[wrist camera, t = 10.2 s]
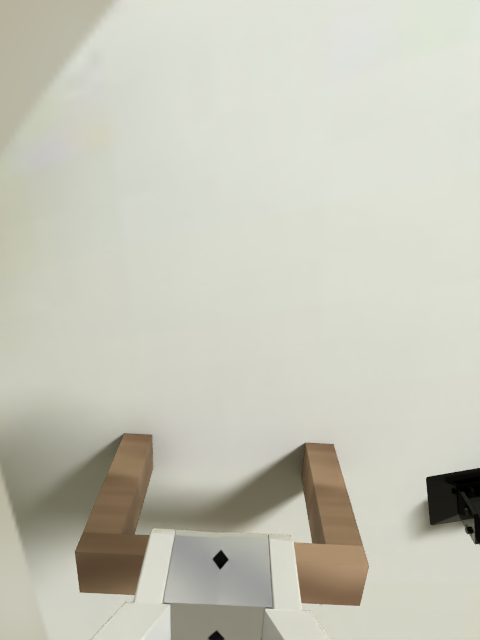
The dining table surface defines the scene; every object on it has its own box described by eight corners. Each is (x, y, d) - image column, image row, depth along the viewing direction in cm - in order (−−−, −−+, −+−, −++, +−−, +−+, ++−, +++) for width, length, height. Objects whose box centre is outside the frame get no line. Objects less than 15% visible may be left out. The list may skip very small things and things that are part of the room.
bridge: (328, 477, 32) (359, 605, 23) (125, 467, 32) (79, 592, 23) (333, 444, 31) (368, 566, 22) (124, 433, 31) (75, 551, 22)
